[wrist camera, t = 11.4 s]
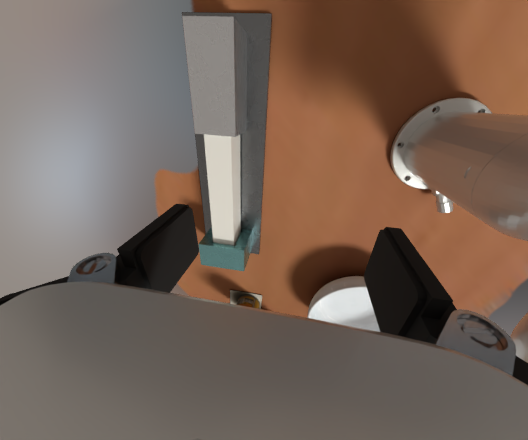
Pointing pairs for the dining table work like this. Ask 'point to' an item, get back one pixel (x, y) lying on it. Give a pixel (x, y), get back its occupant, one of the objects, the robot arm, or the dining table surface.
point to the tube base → (254, 125)
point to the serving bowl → (344, 304)
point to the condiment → (245, 299)
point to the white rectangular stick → (224, 187)
